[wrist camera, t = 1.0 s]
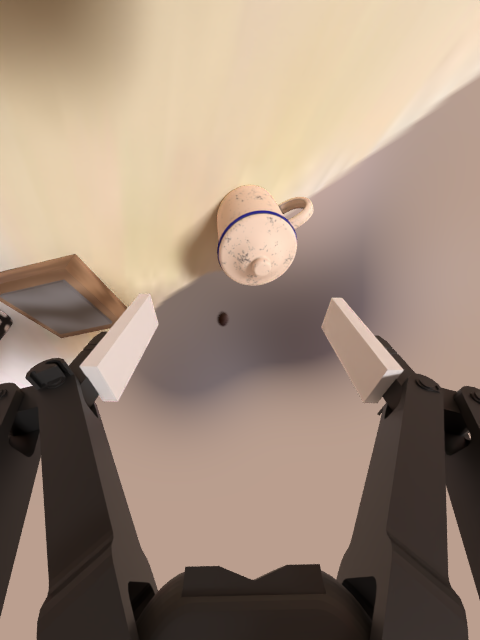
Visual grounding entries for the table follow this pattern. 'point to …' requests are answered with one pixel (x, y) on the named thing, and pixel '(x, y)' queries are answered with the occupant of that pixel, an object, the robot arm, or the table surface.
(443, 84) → the table surface
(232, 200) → the teacup with lid
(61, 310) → the plinth
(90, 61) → the table surface
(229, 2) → the table surface
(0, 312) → the white-spotted black cylinder
